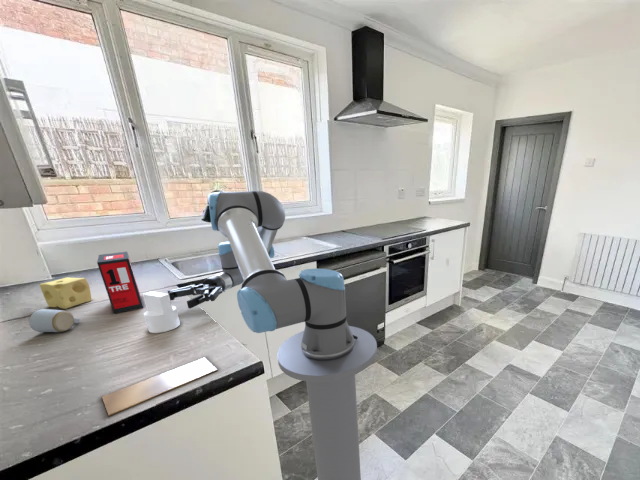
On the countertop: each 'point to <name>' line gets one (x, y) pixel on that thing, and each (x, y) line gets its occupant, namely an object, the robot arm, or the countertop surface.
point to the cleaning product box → (119, 281)
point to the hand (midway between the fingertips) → (172, 303)
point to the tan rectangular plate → (156, 385)
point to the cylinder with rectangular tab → (160, 312)
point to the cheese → (66, 292)
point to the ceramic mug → (51, 320)
